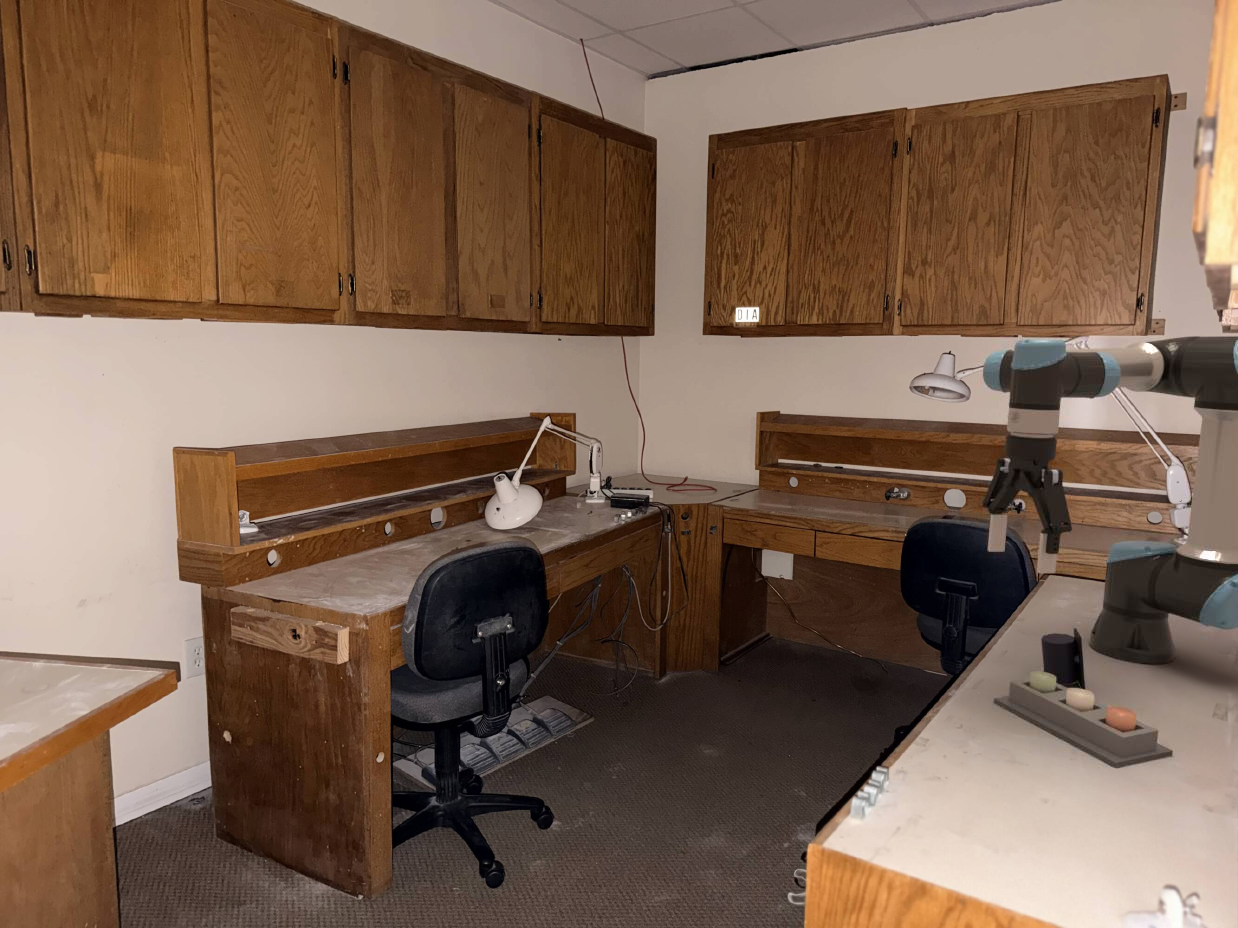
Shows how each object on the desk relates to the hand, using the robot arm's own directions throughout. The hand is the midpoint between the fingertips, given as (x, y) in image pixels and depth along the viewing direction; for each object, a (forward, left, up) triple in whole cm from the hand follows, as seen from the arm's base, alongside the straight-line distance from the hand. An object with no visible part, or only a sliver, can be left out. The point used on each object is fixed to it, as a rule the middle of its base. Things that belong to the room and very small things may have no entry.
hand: (1019, 561), depth 139 cm
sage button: (-7, 0, -24) cm, 25 cm away
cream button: (-7, +8, -24) cm, 27 cm away
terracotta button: (-7, +15, -24) cm, 30 cm away
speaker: (-20, -7, -27) cm, 35 cm away
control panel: (-7, +8, -27) cm, 29 cm away
